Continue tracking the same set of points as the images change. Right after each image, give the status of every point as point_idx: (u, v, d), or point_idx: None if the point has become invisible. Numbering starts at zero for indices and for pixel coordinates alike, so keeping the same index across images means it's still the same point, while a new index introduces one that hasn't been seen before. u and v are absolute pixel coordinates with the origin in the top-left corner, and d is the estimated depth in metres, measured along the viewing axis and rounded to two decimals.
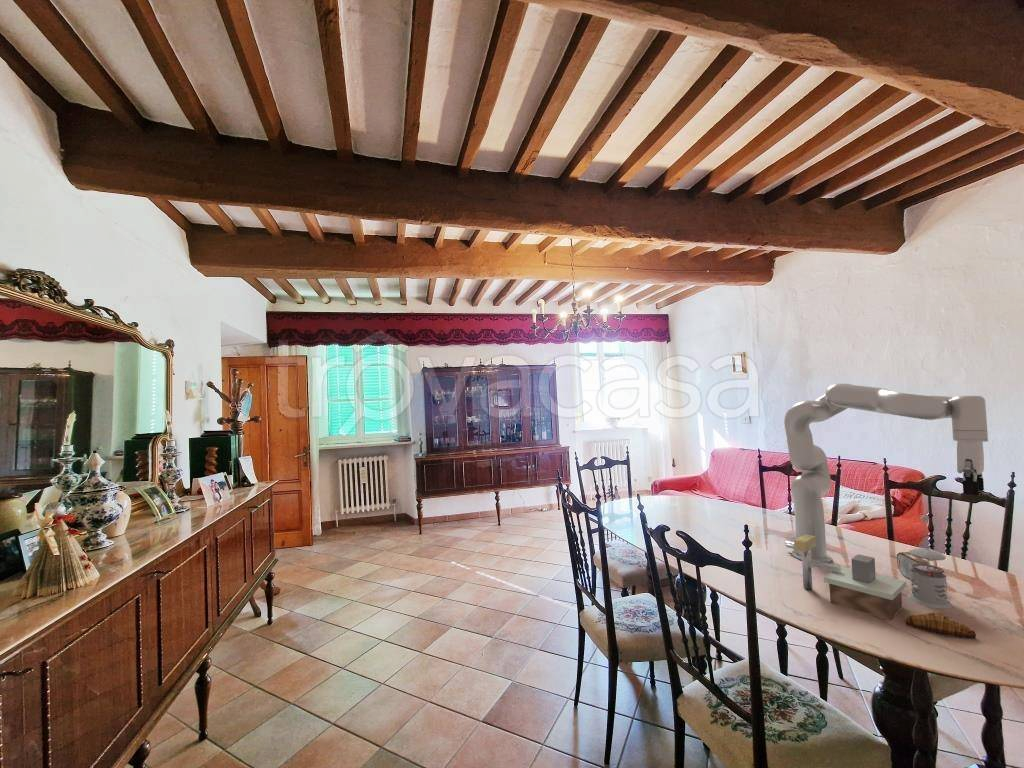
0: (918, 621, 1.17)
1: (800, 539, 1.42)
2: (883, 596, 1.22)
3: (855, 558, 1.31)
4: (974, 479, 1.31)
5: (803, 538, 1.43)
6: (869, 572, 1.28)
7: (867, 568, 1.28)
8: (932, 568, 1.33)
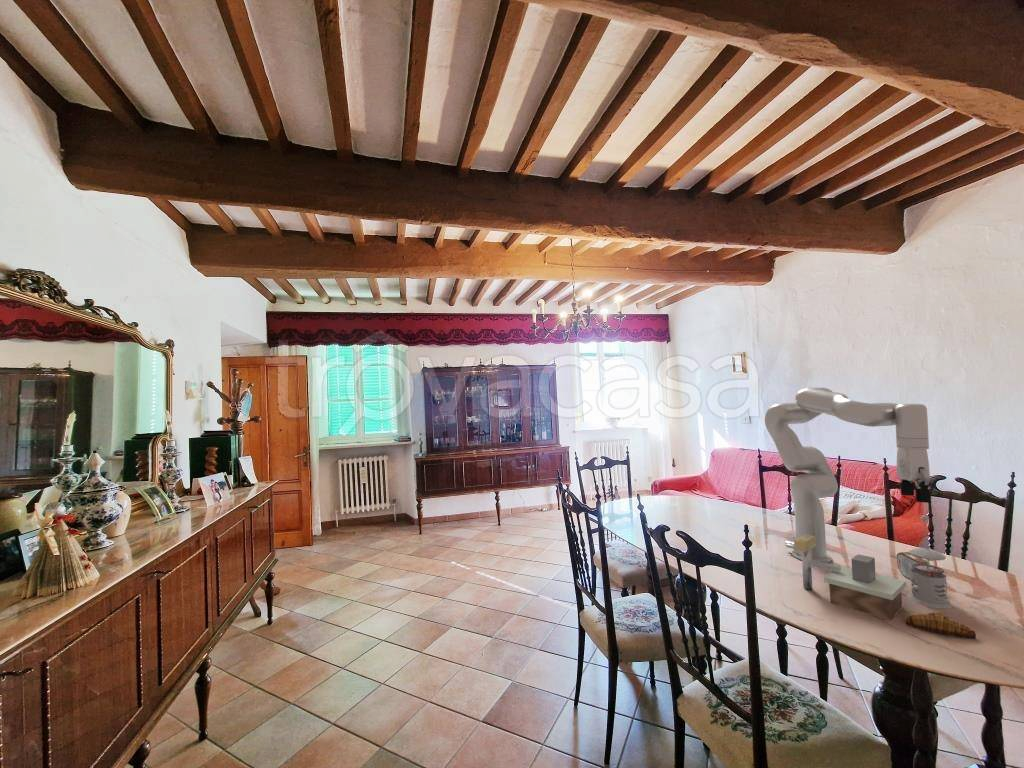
0: (918, 621, 1.17)
1: (800, 539, 1.42)
2: (883, 596, 1.22)
3: (855, 558, 1.31)
4: (928, 487, 1.32)
5: (803, 538, 1.43)
6: (869, 572, 1.28)
7: (867, 568, 1.28)
8: (932, 568, 1.33)
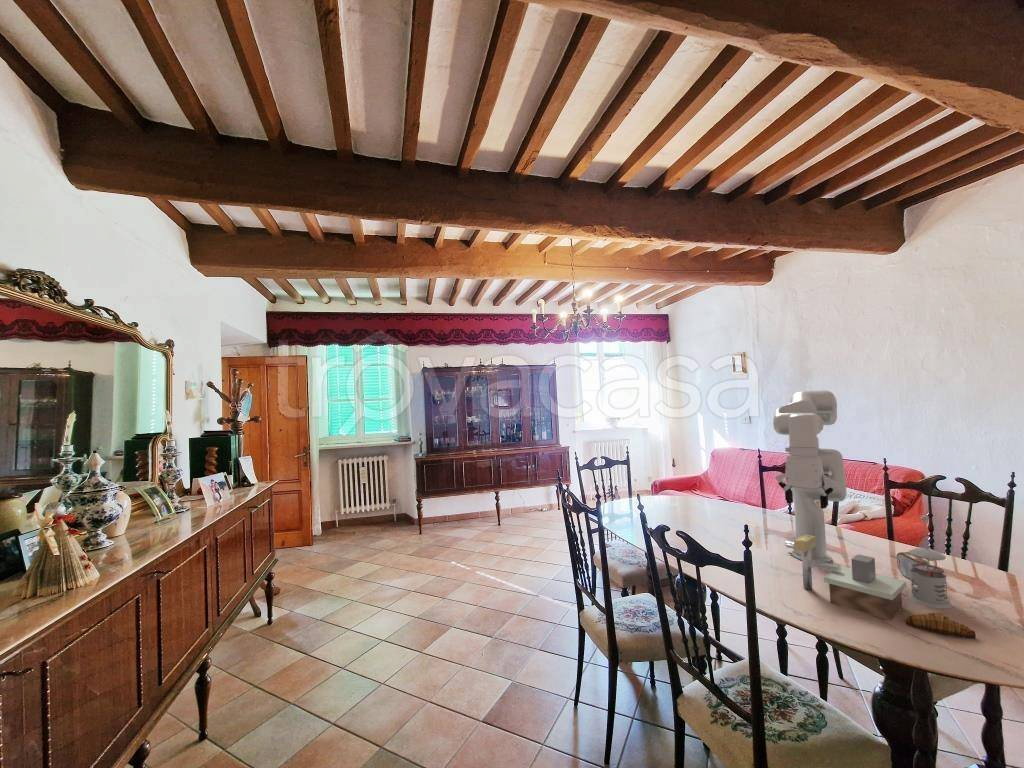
0: (918, 621, 1.17)
1: (800, 539, 1.42)
2: (883, 596, 1.22)
3: (855, 558, 1.31)
4: None
5: (803, 538, 1.43)
6: (869, 572, 1.28)
7: (867, 568, 1.28)
8: (932, 568, 1.33)
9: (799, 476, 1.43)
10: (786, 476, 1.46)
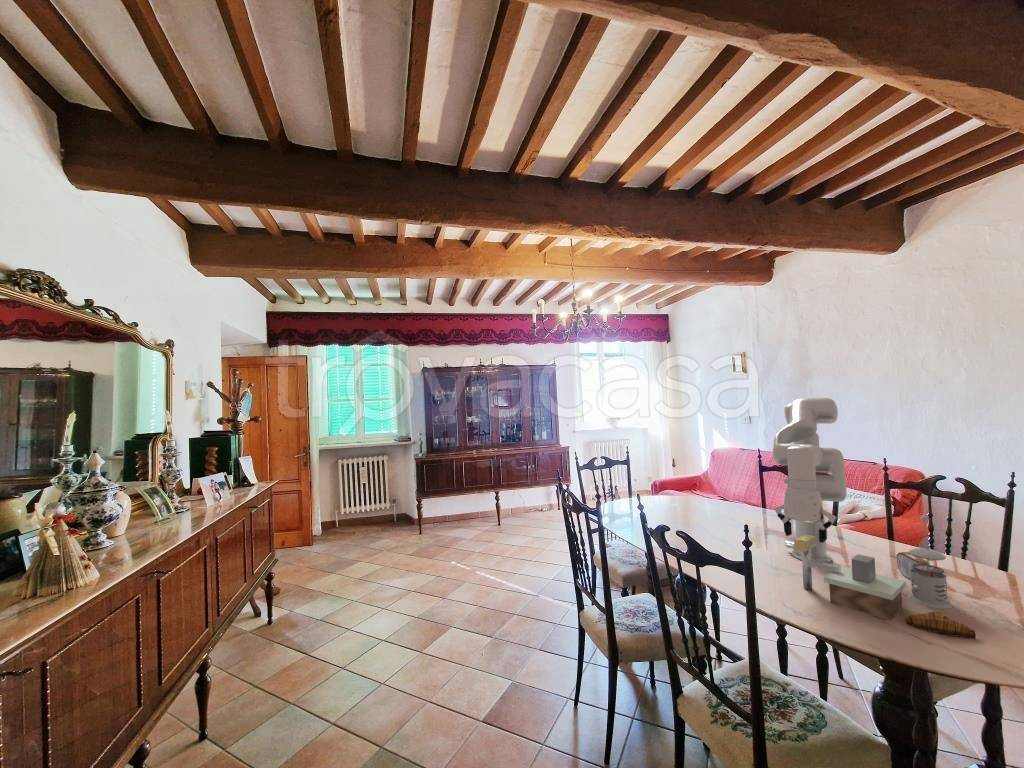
0: (918, 620, 1.17)
1: (800, 539, 1.42)
2: (883, 596, 1.22)
3: (855, 558, 1.31)
4: None
5: (803, 538, 1.43)
6: (869, 572, 1.28)
7: (867, 568, 1.28)
8: (932, 568, 1.33)
9: (798, 509, 1.42)
10: (785, 508, 1.45)
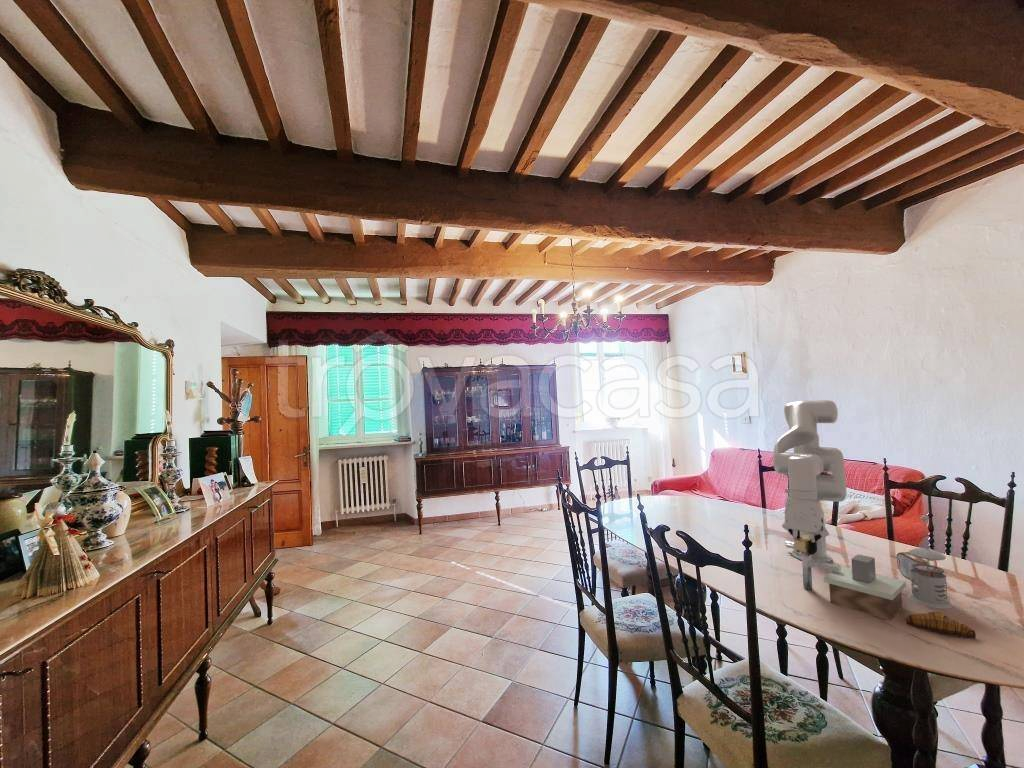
0: (918, 620, 1.17)
1: (800, 539, 1.42)
2: (883, 596, 1.22)
3: (855, 558, 1.31)
4: (817, 539, 1.41)
5: (803, 538, 1.43)
6: (869, 572, 1.28)
7: (867, 568, 1.28)
8: (932, 568, 1.33)
9: (798, 519, 1.42)
10: (785, 518, 1.46)
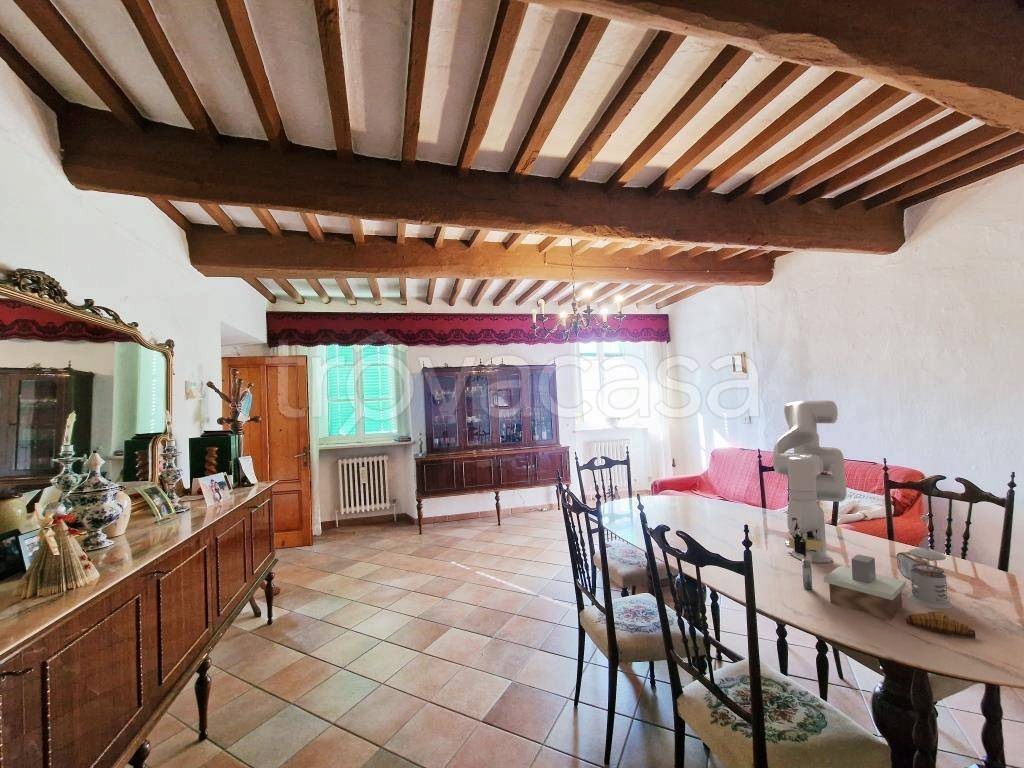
0: (918, 620, 1.17)
1: None
2: (883, 596, 1.22)
3: (855, 558, 1.31)
4: (800, 540, 1.41)
5: None
6: (869, 572, 1.28)
7: (867, 568, 1.28)
8: (932, 568, 1.33)
9: None
10: None
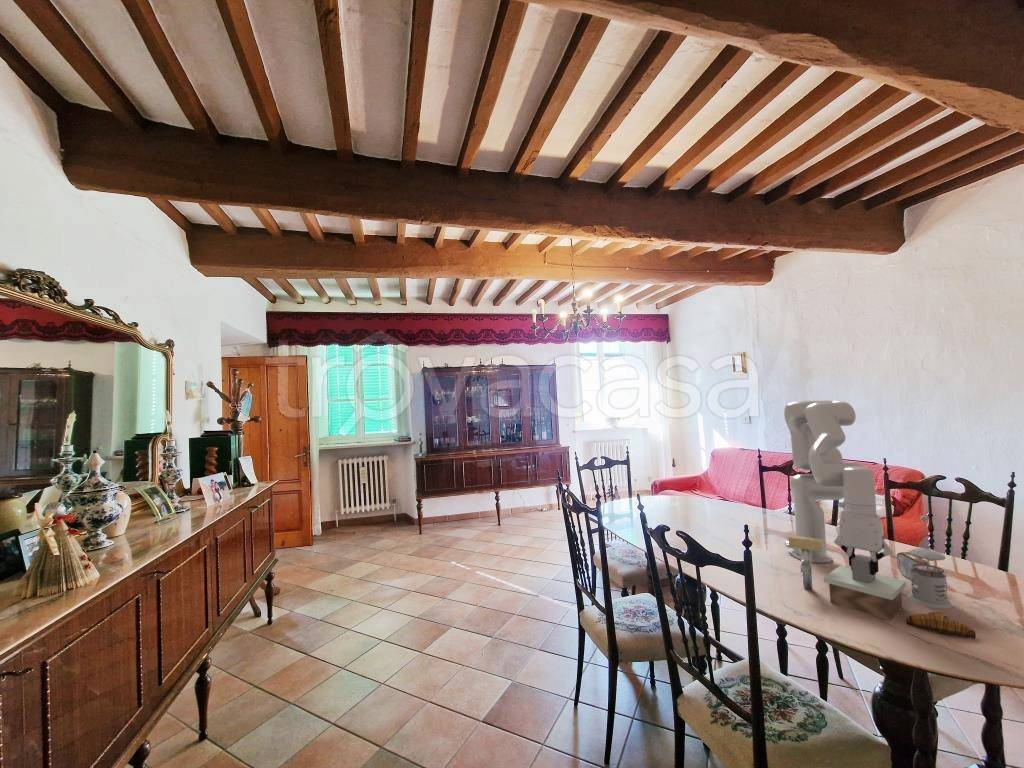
0: (918, 620, 1.17)
1: (796, 536, 1.45)
2: (883, 596, 1.22)
3: (855, 558, 1.31)
4: None
5: (802, 537, 1.44)
6: (869, 572, 1.28)
7: (867, 568, 1.28)
8: (932, 568, 1.33)
9: (856, 536, 1.30)
10: (840, 534, 1.33)
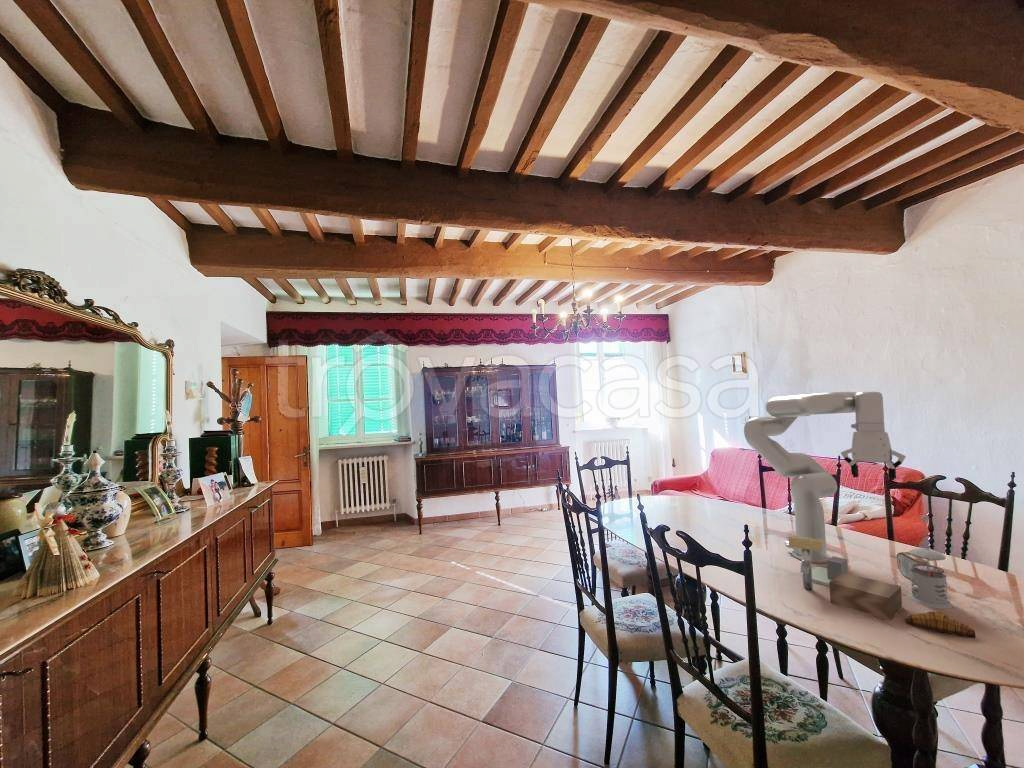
0: (918, 620, 1.17)
1: (796, 536, 1.45)
2: None
3: (830, 559, 1.48)
4: None
5: (802, 537, 1.44)
6: (842, 572, 1.45)
7: (840, 568, 1.45)
8: (932, 568, 1.33)
9: (867, 450, 1.49)
10: (853, 451, 1.52)
